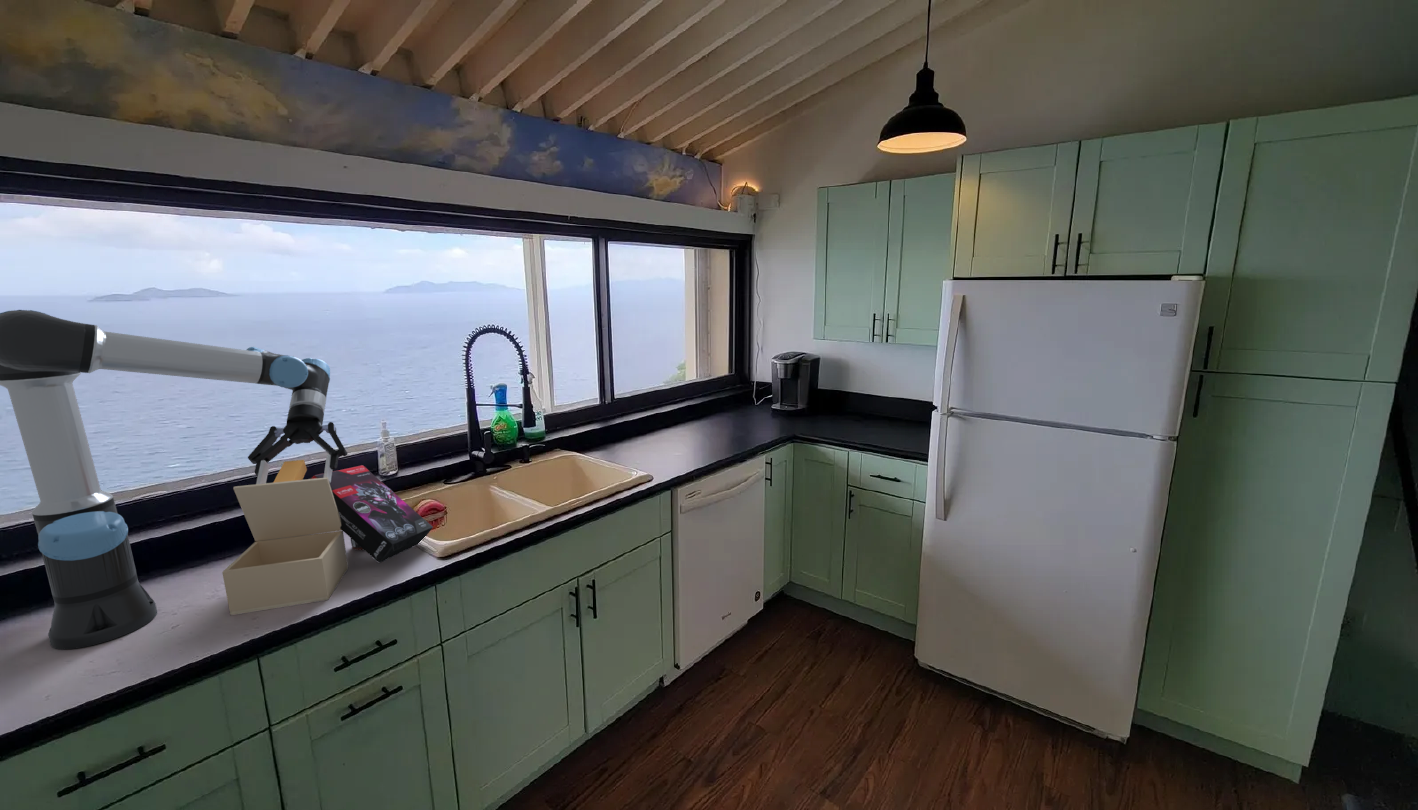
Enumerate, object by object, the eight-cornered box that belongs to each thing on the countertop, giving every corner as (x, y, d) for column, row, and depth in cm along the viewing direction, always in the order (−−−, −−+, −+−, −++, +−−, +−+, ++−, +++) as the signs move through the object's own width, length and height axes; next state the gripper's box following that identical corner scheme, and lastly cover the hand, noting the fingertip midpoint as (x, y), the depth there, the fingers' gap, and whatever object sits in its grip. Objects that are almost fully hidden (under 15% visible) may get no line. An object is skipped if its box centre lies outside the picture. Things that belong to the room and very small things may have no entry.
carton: (230, 615, 119) (222, 572, 117) (262, 580, 134) (255, 541, 132) (328, 599, 124) (321, 558, 123) (348, 568, 139) (342, 530, 137)
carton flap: (233, 488, 124) (248, 462, 132) (255, 541, 132) (268, 514, 140) (327, 478, 129) (336, 455, 137) (342, 530, 137) (351, 505, 145)
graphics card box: (392, 545, 135) (313, 471, 137) (376, 566, 136) (297, 492, 137) (435, 527, 152) (364, 462, 154) (420, 546, 153) (349, 480, 154)
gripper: (365, 415, 152) (357, 484, 141) (255, 422, 144) (238, 497, 133) (357, 399, 146) (349, 470, 135) (242, 406, 138) (223, 482, 127)
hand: (294, 483), depth 134 cm, fingers open, 13 cm apart
